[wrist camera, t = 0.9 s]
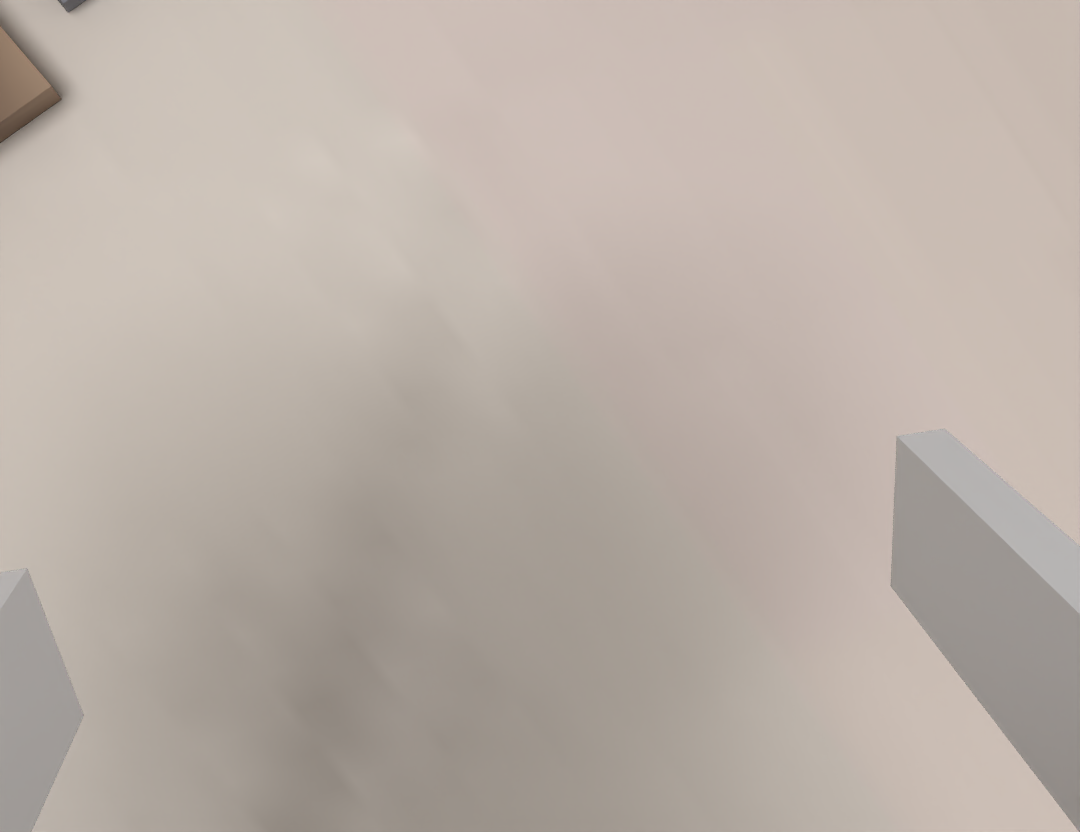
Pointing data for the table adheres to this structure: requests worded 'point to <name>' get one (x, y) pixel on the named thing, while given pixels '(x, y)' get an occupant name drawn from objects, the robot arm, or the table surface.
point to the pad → (70, 4)
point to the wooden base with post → (20, 89)
